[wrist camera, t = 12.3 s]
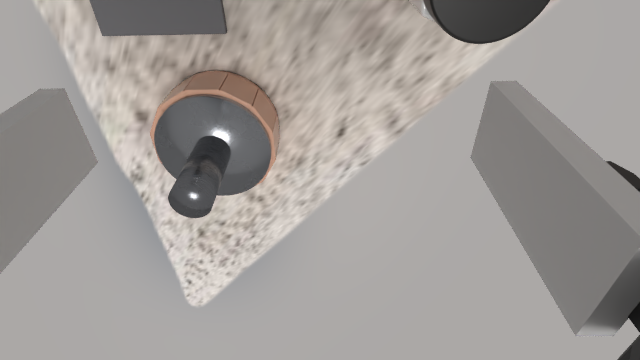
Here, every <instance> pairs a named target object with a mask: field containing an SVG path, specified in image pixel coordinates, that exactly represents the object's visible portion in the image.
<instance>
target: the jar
mask: <svg viewBox="0 0 640 360" xmlns="http://www.w3.org/2000/svg"><path fill="white" fill-rule="evenodd" d="M408 1H409V2H410V3H411V4H412V5H413V6H414V7H415V8H416V10H417V11H418V12H419V13H420V14H421V15H422V16H423V17H425V18H428V19H430V20H432V21H434V22H436V23H437V24H438V25H439V26H440V27H441V28H442V29H443V30H444V31H445V32H446V33H448V34H449V35H450V36H452V37H454V38H456V39H458V40H460V41H463V42H467V43H473V44H485V43H492V42H496V41H499V40H502V39H505V38H507V37H509V36H511V35H513V34H515V33H517V32H518V31H520V30H521V29H523V28H524V27H526V26H527V25H528V24H529V23H531V22H532V21H533V20H534V19H535V18H536V17H537V16H538V15H539V14H540V13H541V12H542V10H543V9H544V8H545V7H546V5H547V4H548V3H549V1H550V0H408Z"/></svg>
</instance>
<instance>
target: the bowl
mask: <svg viewBox="0 0 640 360" xmlns="http://www.w3.org/2000/svg"><path fill="white" fill-rule="evenodd" d="M196 94H213V95H219V96H223V97H226V98H229V99H232V100H234V101H236V102H238V103H240V104H242V105H243V106H245V107H246V108H248V109H249V110H250V111H251V112H252V113H254V114H255V115H256V116H257V118H258V119H259V120H260V121H261V122H262V124H263V125H264V127H265V129H266V131H267V133H268V135H269V138H270V142H271V152H272V153H271V160H270V164H269V168H268V170H267V172H266V174H265V176H264V177H263V179H262V180H261V181H260V182H259V183H261V182H263V181H264V179H265V177H266V176H267V174H268V172H269V171H270V169H271V167H272V165H273V164H274V162H275V160H276V155H277V150H278V144H279V139H280V138H279V120H278V115H277V112H276V109H275V107H274V105H273V103H272V102H271V100H270V99H269V97H268V96H267V95H266V94H265V92H264V91H263V90H262V89H261V88H260V87H258V86H257V85H256V84H254V83H253V82H252V81H250V80H248V79H246V78H245V77H242V76H240V75H238V74H234V73H231V72H226V71H205V72H200V73H197V74H195V75H192V76H190V77H189V78H187V79H186V80H184V81H183V82H182V83H181V84H180V85H178V86H177V87H175V88H174V89H173V90H172V91H171V92H170V93H169V95H168V96H167V97H166V98H165V99H164V101H163V102H162V103H161V104H160V106H159V107H158V109H157V112H156V115H155V119H154V122H153V125H152V128H151V131H150V136H151V138H152V141H153V144H154V147H155V142H154V133H155V128H156V125H157V122H158V120H159V119H160V117H161V116H162V114H163V113H164V112H165V110H166V109H167V108H168V107H169V106H170V105H172V104H173V103H174V102H176V101H178V100H179V99H181V98H184V97H187V96H191V95H196ZM155 150H156V148H155ZM156 153H157V152H156ZM157 156H158V154H157ZM158 159H159V157H158ZM159 161H160V159H159ZM160 162H161V161H160ZM161 163H162V162H161ZM259 183H258V184H259ZM256 185H257V184H256ZM238 194H239V193H238Z"/></svg>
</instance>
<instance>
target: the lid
mask: <svg viewBox="0 0 640 360" xmlns="http://www.w3.org/2000/svg"><path fill="white" fill-rule="evenodd" d="M154 142H155V148H156V152H157V154H158V157H159V159H160V161H161V162H162V164H163V165H164V167H165V168H166V169H167V171H168V172H169V173H170V174H171V175H172V176H173V177H175V178H176V179H177V180H176V182H175V184H174V186H173V187H172V189H171V191H170V193H169V196H168V200H169V203H170V205H171V207H172V208H173V209H174V210H175V211H176V212H178V213H179V214H181V215H183V216H186V217H190V218H199V217H203V216H205V215H207V214H208V213H209V212H210V211H211V209H212V206H213V203H214V201H215V198H216V195H222V196H223V195H234V194H238V193H242V192H244V191H247V190H249V189H251V188H252V187H254V186H255V185H256V184H258V183H259V182H260V181H261V180H262V179H263V177H264V176H265V174H266V172H267V170H268V168H269V164H270V160H271V153H272V152H271V142H270V138H269V135H268V133H267V131H266V129H265V127H264V125H263V124H262V122H261V121H260V120H259V119H258V118H257V116H256V115H255V114H254V113H252V112H251V111H250V110H249V109H248V108H246V107H245V106H243V105H242V104H240V103H238V102H236V101H234V100H232V99H229V98H226V97H223V96H219V95H213V94H196V95H191V96H187V97H184V98H181V99H179V100H178V101H176V102H174V103H173V104H172V105H170V106H169V107H168V108H167V109H166V110H165V112H164V113H163V114H162V116H161V117H160V119H159V120H158V122H157V125H156V128H155V133H154Z"/></svg>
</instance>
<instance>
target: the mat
mask: <svg viewBox="0 0 640 360" xmlns="http://www.w3.org/2000/svg"><path fill="white" fill-rule="evenodd" d="M90 3H91V5H92V8H93V11H94V14H95V16H96V19H97V22H98V25H99V28H100V30H101V33H102V36H130V35H183V34H226V33H227V28H226V22H225V16H224V9H223V3H222V0H90Z"/></svg>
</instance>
